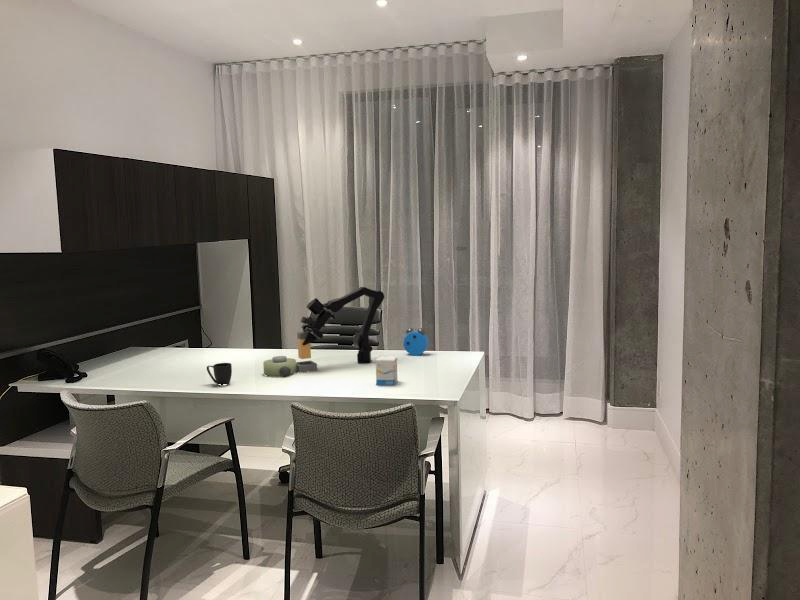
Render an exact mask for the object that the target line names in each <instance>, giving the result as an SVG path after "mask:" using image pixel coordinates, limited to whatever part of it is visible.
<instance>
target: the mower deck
mask: <svg viewBox="0 0 800 600" xmlns="http://www.w3.org/2000/svg"><path fill="white" fill-rule="evenodd" d="M262 363H263V375H264V374H265V375H268V376H267V377H269V376H282V377H283V378H287V377H286V376H288V377H289V376H292V374H293V375H295V374H297V373H298V372H299V374H301V373H300V372H302V373H308V372H307V371H309V372H315V370H317V371H318V363H316V362H314V361H313V360H305V361H304V360H303V361H297V360H296V359H295V358H291V357H287V356H285V355H278V356H273V357H272V358H271V359H267V360H264V361H263V362H262ZM294 373H295V374H294ZM265 375H264V376H265Z"/></svg>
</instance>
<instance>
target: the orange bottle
mask: <svg viewBox="0 0 800 600" xmlns="http://www.w3.org/2000/svg"><path fill="white" fill-rule="evenodd" d="M296 335H297V353H298V355H297V356H298V358H299V359H301V360H307V359H312V351H311V350H312V349H311V342H310V343H308V344H306V345H302V344H303V342H304V341H305V339H306V338H307V336H308V332H307V331H305V332H303V331H298V332H296Z"/></svg>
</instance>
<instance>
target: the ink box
mask: <svg viewBox="0 0 800 600" xmlns="http://www.w3.org/2000/svg"><path fill="white" fill-rule="evenodd" d="M375 380H376V386H395V385H396V384H397V382H398V357H397V356H387V355H386V356H384V355H383V356H379V357H378V358H377V359H375ZM395 383H396V384H395ZM394 384H395V385H394Z"/></svg>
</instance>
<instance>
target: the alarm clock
mask: <svg viewBox="0 0 800 600" xmlns="http://www.w3.org/2000/svg"><path fill="white" fill-rule="evenodd" d="M426 332H427V331H426V329H424V328H423V327H420V328H418V329H417V328H415V329H414V328H413V327H408V328H406V329H405V335H406V336H404V338H403V342H402V343H403V348H404V350H405V351H406V352H407V353H408V354H409V355H412V356H420V355H422V354H424V352H426V350H427V349H428V347H429V338H428V336H427V335H426Z"/></svg>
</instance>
